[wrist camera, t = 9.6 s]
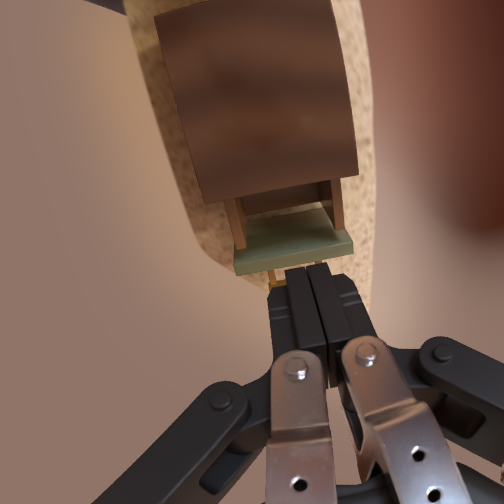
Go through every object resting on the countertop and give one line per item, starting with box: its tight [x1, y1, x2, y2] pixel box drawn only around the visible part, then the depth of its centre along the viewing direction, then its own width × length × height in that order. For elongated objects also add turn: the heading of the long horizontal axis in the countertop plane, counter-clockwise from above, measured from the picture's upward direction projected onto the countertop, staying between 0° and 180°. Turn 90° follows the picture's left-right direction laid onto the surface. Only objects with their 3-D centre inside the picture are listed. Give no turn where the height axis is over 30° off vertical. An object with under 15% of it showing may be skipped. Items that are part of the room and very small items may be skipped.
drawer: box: [223, 178, 354, 291], centre depth 28 cm, size 18×10×7 cm, turn 12°
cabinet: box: [154, 0, 359, 204], centre depth 22 cm, size 14×11×9 cm
